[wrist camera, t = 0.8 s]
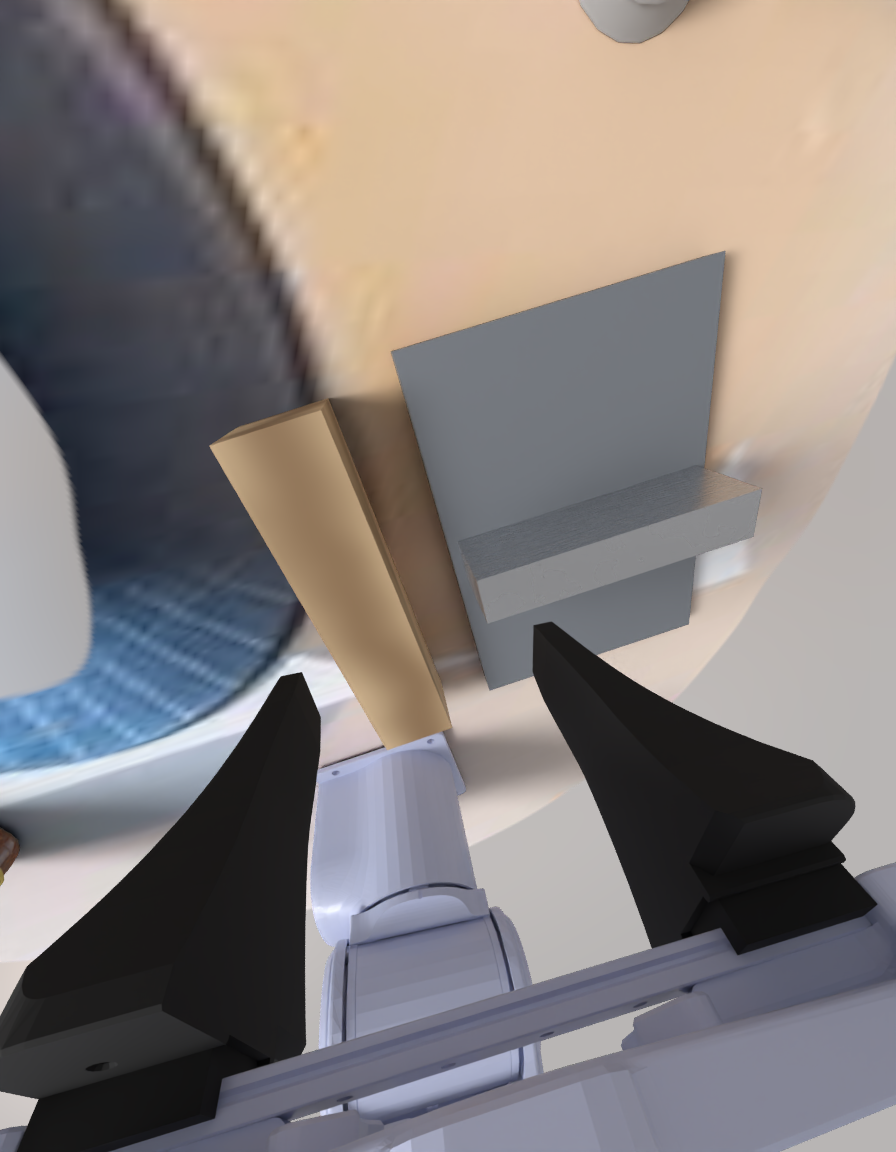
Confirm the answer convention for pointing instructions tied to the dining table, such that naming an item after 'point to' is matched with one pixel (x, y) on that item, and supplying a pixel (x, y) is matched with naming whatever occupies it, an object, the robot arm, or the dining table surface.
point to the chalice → (632, 17)
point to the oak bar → (337, 563)
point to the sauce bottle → (7, 852)
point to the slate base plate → (568, 436)
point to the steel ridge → (607, 539)
